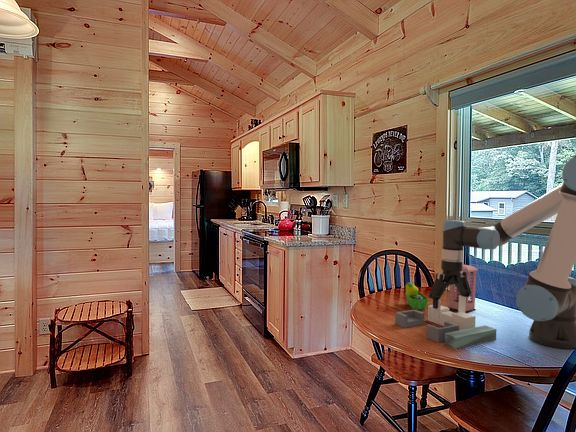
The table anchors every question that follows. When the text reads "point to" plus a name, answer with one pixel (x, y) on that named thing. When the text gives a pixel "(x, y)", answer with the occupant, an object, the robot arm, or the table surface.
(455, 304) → the miniature model
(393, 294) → the table surface
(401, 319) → the cradle
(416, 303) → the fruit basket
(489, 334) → the grey-green long bar
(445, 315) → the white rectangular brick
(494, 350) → the table surface
